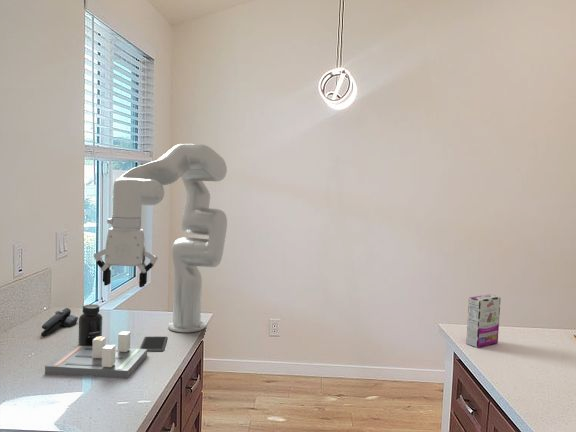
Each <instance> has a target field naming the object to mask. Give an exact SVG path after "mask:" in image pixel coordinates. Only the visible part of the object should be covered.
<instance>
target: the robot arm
mask: <svg viewBox="0 0 576 432" xmlns="http://www.w3.org/2000/svg"><path fill="white" fill-rule="evenodd" d="M227 168H228V167H227V163H226V161H225V159H224V158H223V157H222V156H221V155H220V154H218V152H216V151H215V149H213V148H211V147H209V146H208V145H205V144H200V143H199V144H198V143H196V144H195V143H194V144H193V143H179V144H176V145H174V146H173V147H172V148H170V149H169V150H168V151H167V152H166V153H164V154H163V155H162V156H160V157H159V158H158V159H157V160H153V161H150V162H147V163H145V164H141V165H138V166H136V167H132V168H131V169H129V170H128V171H126V172H125V173H123V174H122V175H121V176H120V177H119V178H117V179H115V181H114V183H113V191H112V192H113V194H112V195H113V197H112V198H113V199H112V216H111V218H107V221H106V223H107V224H109V225H111V227H110V228H109V229H108V232H107V235H106V241H105V249H102V250H100V251H97V252H96V253H93V259H94V260H95V262H96V264H97V266H98V267H99V268H100V270H101V271H102V282H103V286H108V285H110V284H111V281H112V280H111V279H112V278H111V277H112V271H111V269H110V268H111V267H112V266H119V267H120V266H123V267H125V266H126V267H137V268H138V269H139V270H140V273H139V278H138V280H139V282H138V286H139V288H144V287H145V286H146V284H147V282H148V272H149V271H150V269H152V268H153V267H154V266H155V264H156V262H157V261H158V256H157V255H155V254H153V253H151V252H149V251H148V250H146V240H145V232H144V229H143V228H141V227H142V208H143V207H142V206H155V205H158V204H159V203H160V204H161V202H162V200H163V199H164V197H165V188H164V186H167V185H171V184H174V183H175V182H177V181H178V179H180V178H181V180H182V183H183V185H184V189H185V201H184V206H183V212H182V218H181V229H182V231H183V232H185V233H186V234H189V235H197V236H208V238H200V237H179V238H177V239H176V240H175V241H174V242H173V243H172V245H171V246H172V247H171V258H172V264H173V295H172V296H173V299H172V301H173V303H172V305H173V306H172V310H173V311H172V321H170V322H169V323H168V324H167V328H168V330H170V331H172V332H175V333H176V332H177V333H195V332H199V331H202V330H204V329H205V327H206V325H205V322H203V321H201V318H202V317H201V316H202V315H201V313H202V309H201V308H202V284H203V282H202V280H203V278H202V274H201V272H200V270H199V268H198V267H203V268H216V267H218V266H219V265H220V264H221V261H222V258H223V254H224V248H225V241H226V236H227V235H226V234H227V229H228V219H227V215H226V213H225V211H223V210H222V209H218V208H210V202H211V193H210V191H209V188H208V187H207V185H206V184H205V183H204V182H220V181H222V180H224V179H225V177H226V175H227V172H228V170H227ZM103 255H104V260H103V259H102V256H103ZM146 258H148V259H150V261H149V262H148V264H146V263H145V261H146Z"/></svg>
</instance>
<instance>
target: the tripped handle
mask: <svg viewBox="0 0 576 432" xmlns="http://www.w3.org/2000/svg"><path fill="white" fill-rule="evenodd" d="M106 339H107V338H106V336H103V335H102V336H99V337H96V338H95V339H93V346H92V358H102V348H103V347H104V346H105V345H107V344H106V343H107V342H106V341H107V340H106Z"/></svg>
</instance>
